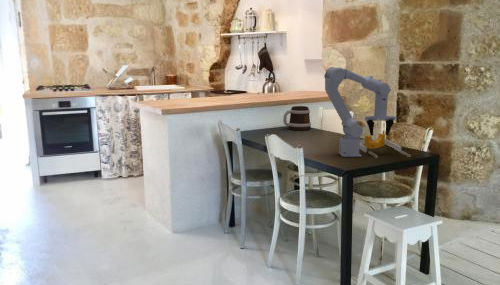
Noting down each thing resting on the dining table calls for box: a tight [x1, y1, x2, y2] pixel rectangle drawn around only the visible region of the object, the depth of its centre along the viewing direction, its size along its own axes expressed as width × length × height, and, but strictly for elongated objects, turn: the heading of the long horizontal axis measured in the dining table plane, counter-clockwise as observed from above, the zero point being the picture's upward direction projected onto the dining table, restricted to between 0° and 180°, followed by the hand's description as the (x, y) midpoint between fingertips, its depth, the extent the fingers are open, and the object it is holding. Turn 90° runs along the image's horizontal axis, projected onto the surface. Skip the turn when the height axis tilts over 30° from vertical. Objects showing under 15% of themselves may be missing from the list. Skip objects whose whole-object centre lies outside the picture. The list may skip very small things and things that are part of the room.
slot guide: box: [368, 150, 412, 159], centre depth 210 cm, size 17×10×1 cm, turn 94°
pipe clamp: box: [364, 133, 386, 150], centre depth 231 cm, size 12×4×6 cm, turn 120°
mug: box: [283, 105, 312, 132], centre depth 286 cm, size 20×15×15 cm
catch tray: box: [359, 138, 402, 153], centre depth 228 cm, size 19×21×2 cm
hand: (379, 135), depth 212 cm, fingers open, 7 cm apart
